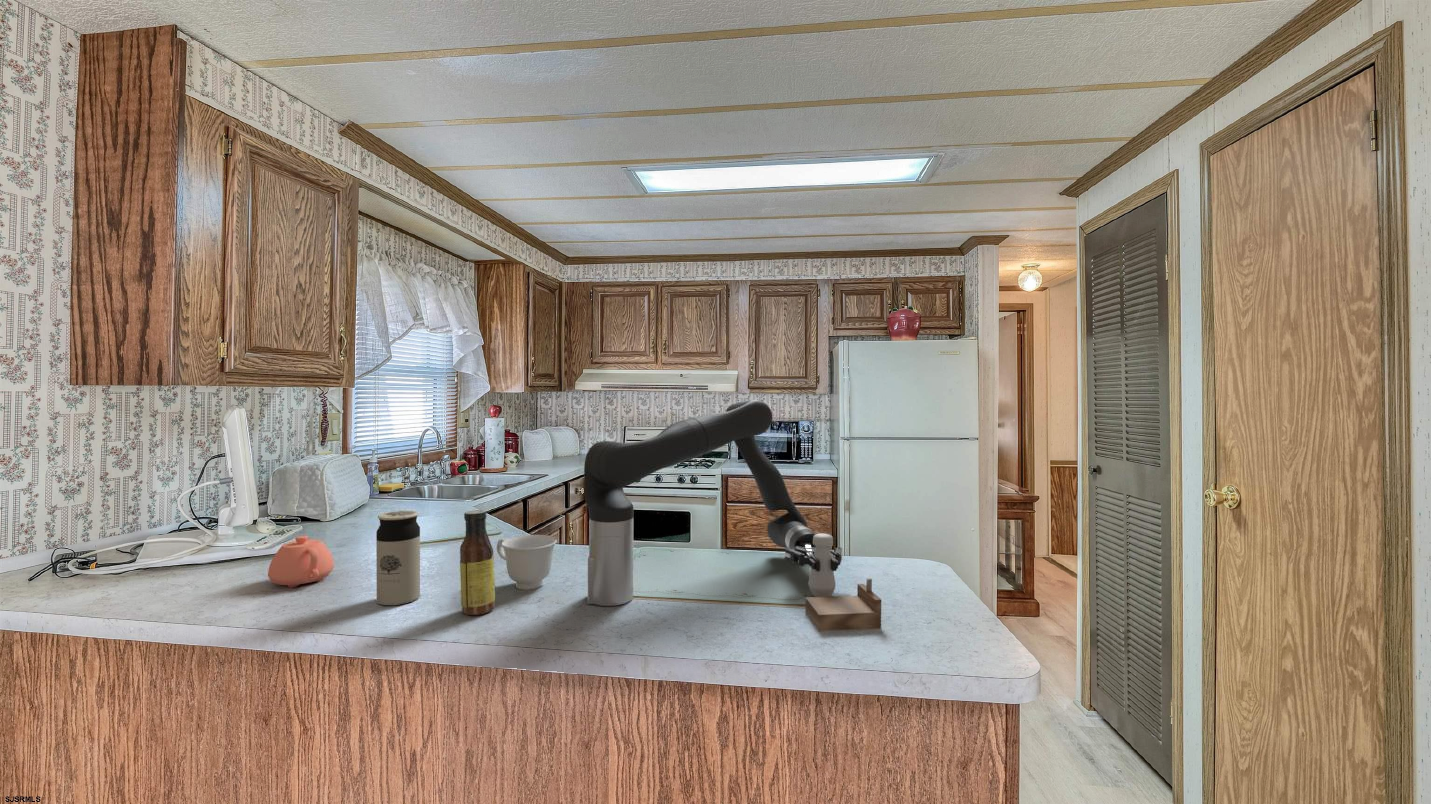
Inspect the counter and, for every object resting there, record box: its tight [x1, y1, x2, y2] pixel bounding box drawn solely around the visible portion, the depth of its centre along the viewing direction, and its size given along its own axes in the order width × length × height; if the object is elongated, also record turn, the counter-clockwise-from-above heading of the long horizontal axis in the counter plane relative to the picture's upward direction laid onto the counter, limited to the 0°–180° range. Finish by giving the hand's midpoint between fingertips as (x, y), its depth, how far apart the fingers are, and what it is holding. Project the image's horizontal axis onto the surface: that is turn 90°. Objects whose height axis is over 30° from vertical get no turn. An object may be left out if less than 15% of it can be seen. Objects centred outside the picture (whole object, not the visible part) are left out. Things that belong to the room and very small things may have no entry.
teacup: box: [496, 534, 558, 590], centre depth 130 cm, size 12×15×10 cm
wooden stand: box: [804, 577, 882, 632], centre depth 112 cm, size 12×9×8 cm
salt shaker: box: [807, 532, 836, 597], centre depth 123 cm, size 6×6×13 cm
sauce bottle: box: [459, 509, 496, 616], centre depth 115 cm, size 7×6×20 cm
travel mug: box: [375, 509, 421, 606], centre depth 120 cm, size 8×8×18 cm
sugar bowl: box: [267, 535, 335, 588], centre depth 131 cm, size 12×14×10 cm
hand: (826, 566), depth 121 cm, fingers closed on salt shaker, 3 cm apart
